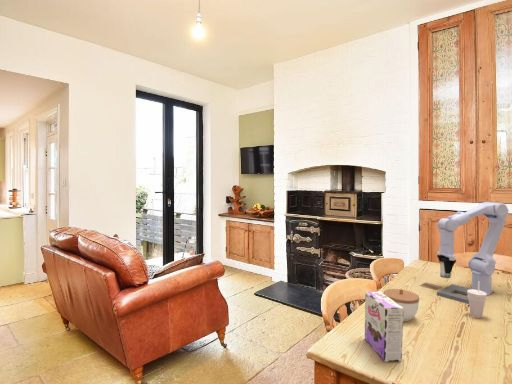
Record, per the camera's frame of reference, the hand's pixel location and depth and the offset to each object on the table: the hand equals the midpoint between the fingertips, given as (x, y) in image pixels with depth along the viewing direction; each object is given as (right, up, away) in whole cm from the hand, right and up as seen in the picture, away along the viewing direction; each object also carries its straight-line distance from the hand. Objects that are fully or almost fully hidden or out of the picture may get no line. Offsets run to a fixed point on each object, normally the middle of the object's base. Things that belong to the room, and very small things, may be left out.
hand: (445, 271), depth 148 cm
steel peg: (0, -3, 0) cm, 3 cm away
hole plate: (+4, -11, -5) cm, 12 cm away
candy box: (-51, -12, -50) cm, 72 cm away
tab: (-3, -10, +7) cm, 13 cm away
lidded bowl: (-34, -11, -26) cm, 44 cm away
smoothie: (-3, -11, -25) cm, 27 cm away
